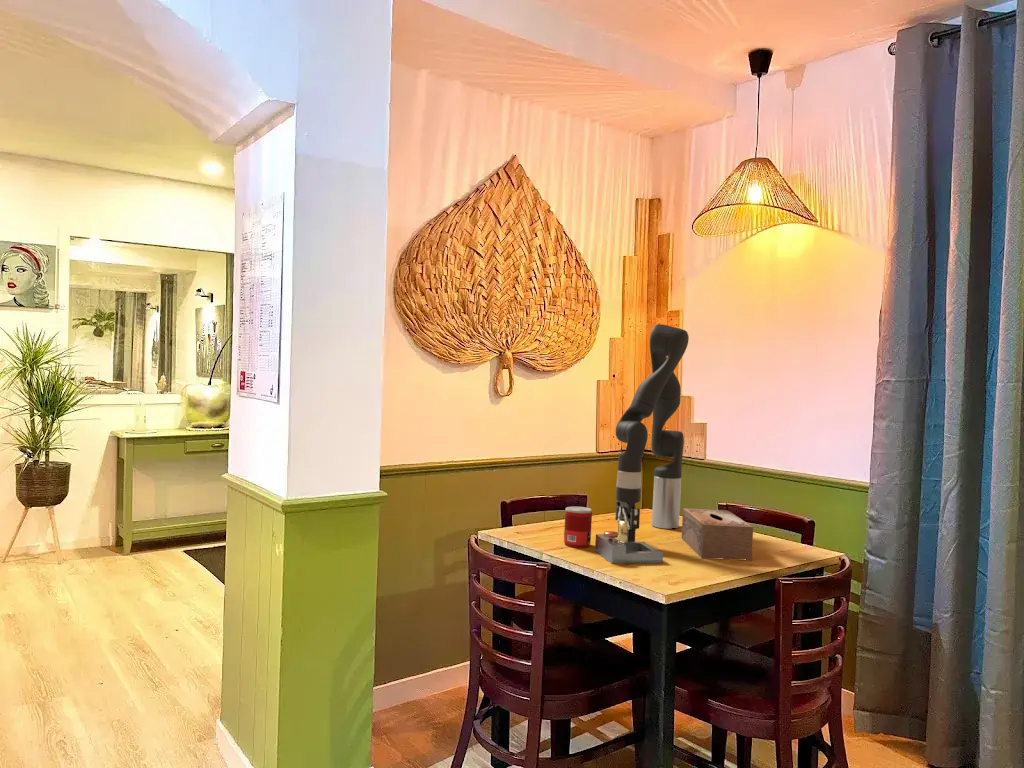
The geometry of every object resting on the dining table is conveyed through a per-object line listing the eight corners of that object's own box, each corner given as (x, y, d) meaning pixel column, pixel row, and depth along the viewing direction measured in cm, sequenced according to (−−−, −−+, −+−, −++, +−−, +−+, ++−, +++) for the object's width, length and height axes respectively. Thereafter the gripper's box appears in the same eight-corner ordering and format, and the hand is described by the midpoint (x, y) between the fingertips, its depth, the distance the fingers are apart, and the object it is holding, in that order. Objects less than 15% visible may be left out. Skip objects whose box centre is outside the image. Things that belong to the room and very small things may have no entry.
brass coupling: (615, 542, 237) (616, 519, 236) (630, 542, 238) (631, 519, 237) (621, 545, 232) (622, 522, 232) (636, 545, 233) (637, 522, 233)
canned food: (593, 548, 227) (595, 511, 227) (567, 548, 226) (568, 510, 226) (586, 542, 235) (588, 506, 235) (561, 542, 233) (562, 506, 233)
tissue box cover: (751, 561, 221) (753, 527, 221) (701, 559, 221) (703, 524, 220) (726, 541, 247) (727, 510, 246) (681, 539, 246) (682, 508, 246)
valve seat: (595, 551, 223) (596, 527, 223) (643, 550, 226) (644, 527, 226) (611, 563, 209) (612, 538, 209) (662, 563, 213) (663, 538, 213)
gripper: (649, 489, 228) (646, 544, 229) (631, 482, 242) (629, 533, 243) (625, 489, 227) (623, 544, 227) (609, 481, 241) (606, 533, 241)
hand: (626, 538), depth 235 cm, fingers open, 7 cm apart
